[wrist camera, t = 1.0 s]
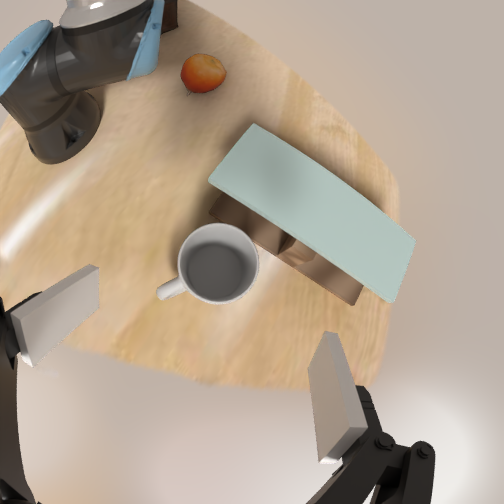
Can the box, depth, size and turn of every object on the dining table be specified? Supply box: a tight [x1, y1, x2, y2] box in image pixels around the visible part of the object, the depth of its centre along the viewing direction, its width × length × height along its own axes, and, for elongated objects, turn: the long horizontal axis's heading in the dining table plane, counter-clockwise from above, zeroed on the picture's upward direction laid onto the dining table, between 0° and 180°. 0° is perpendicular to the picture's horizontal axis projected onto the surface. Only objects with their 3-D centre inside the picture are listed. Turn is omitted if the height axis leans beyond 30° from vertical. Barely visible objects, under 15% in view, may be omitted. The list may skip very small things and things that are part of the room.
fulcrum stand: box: [209, 175, 364, 306], centre depth 37 cm, size 26×12×8 cm, turn 58°
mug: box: [156, 223, 259, 304], centre depth 32 cm, size 12×8×11 cm
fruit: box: [181, 54, 227, 96], centre depth 40 cm, size 8×8×8 cm
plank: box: [208, 123, 416, 303], centre depth 33 cm, size 28×10×1 cm, turn 58°
